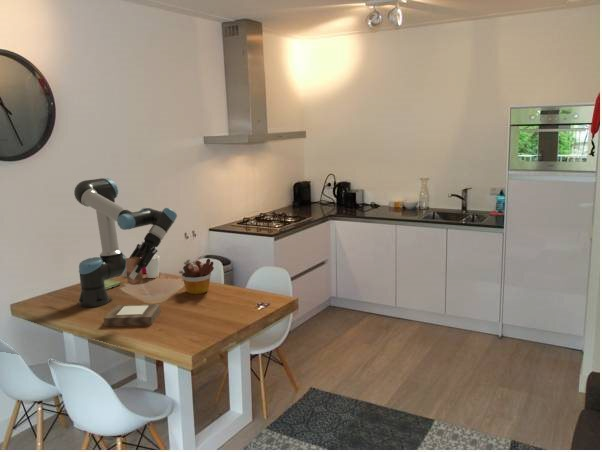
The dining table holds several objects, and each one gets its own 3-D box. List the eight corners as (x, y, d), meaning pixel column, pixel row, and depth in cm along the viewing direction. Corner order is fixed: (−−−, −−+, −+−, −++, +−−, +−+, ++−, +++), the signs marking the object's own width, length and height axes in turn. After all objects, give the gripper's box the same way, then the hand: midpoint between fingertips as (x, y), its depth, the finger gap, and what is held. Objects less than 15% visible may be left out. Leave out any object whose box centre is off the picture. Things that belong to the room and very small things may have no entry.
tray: (104, 326, 247) (103, 317, 246) (116, 312, 264) (115, 304, 264) (151, 324, 247) (151, 316, 246) (160, 311, 265) (160, 303, 264)
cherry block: (133, 285, 247) (132, 260, 245) (127, 283, 250) (125, 258, 248) (142, 282, 251) (141, 258, 249) (136, 280, 254) (134, 256, 252)
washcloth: (105, 291, 301) (105, 286, 300) (84, 287, 309) (83, 282, 308) (123, 285, 312) (122, 280, 311) (101, 281, 320) (101, 276, 319)
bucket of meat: (174, 293, 294) (172, 258, 290) (195, 285, 308) (193, 251, 304) (202, 298, 284) (200, 262, 280) (221, 289, 298) (220, 255, 294)
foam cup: (146, 280, 319) (145, 259, 317) (143, 276, 327) (142, 256, 325) (162, 278, 323) (161, 257, 321) (159, 274, 332) (157, 254, 329)
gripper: (171, 243, 253) (144, 284, 244) (148, 238, 264) (122, 277, 255) (161, 234, 248) (133, 276, 239) (138, 229, 259) (111, 269, 250)
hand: (127, 276), depth 247 cm, fingers closed on cherry block, 5 cm apart
